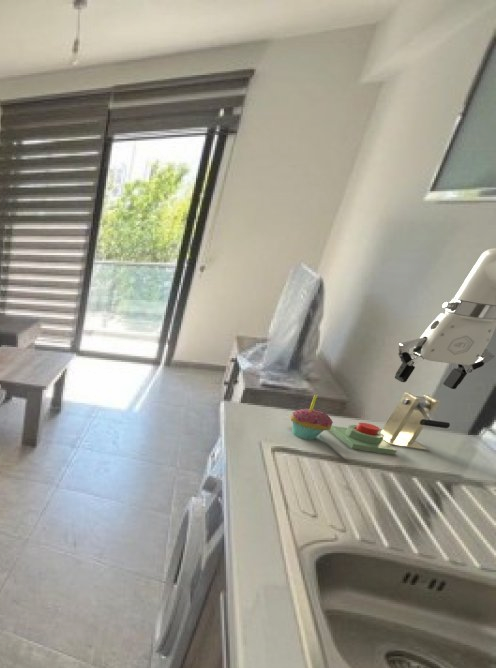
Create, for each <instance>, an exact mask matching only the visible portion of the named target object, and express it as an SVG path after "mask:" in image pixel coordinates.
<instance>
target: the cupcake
mask: <svg viewBox="0 0 496 668" xmlns="http://www.w3.org/2000/svg"><path fill="white" fill-rule="evenodd" d="M317 399H318V392H317V391H315V394H314V395H313V397H312V400H311V404H310V407H309V408H300V409H297V410H295V411H292V414H290V417H289V418H290V421H291V422H292V429H291V431H292V432H291V433H292V435H294V437H295V436H296V437H298V438H301V439H304V440H315V439H316V438H317V437H318V436H319V435H321V434H322V432H324V431H330V428H331V426H333V423H334V422H333V419H332V418H331V417H330V416H329V415H328V414H327V413H326V412H325V411H322V410H321V411H320V410H319V409H314V407H315V405H316V402H317Z"/></svg>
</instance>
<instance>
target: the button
mask: <svg viewBox="0 0 496 668" xmlns="http://www.w3.org/2000/svg"><path fill="white" fill-rule="evenodd" d="M357 425H358V426H357V428H356V430H357V431H359V432H361V433H364V434H368V435H374V436H375V435H376V434H377V433H378V431H379V429H380V427H378V426H377V425H374V424H372V423H367V422H359V423H358V424H357Z"/></svg>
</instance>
